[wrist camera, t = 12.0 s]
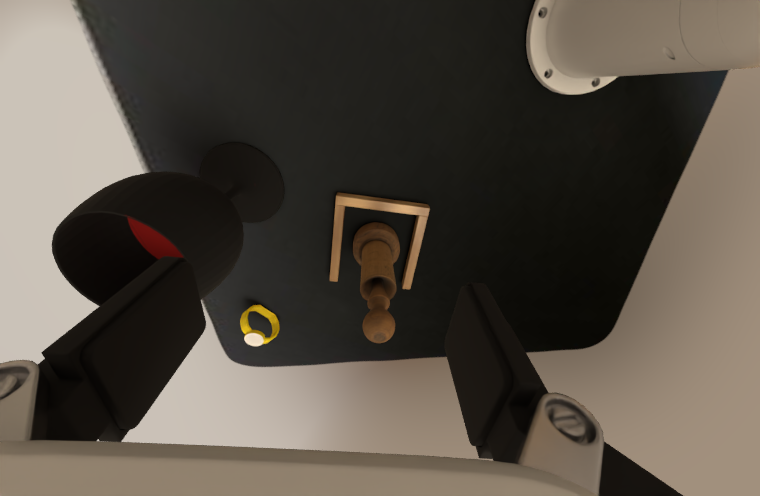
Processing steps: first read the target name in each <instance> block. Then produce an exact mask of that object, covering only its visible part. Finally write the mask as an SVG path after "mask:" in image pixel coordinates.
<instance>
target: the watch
mask: <svg viewBox="0 0 760 496" xmlns="http://www.w3.org/2000/svg"><path fill="white" fill-rule="evenodd" d="M249 311H257V312H258V313H260V314H262V315H263V316H265V317H267V318H268V319H269V321H270V322H271V324H272V331H273V332H272V335H271V337H270V338H265V335H264V334H263V333H262V332H261V331H258V330H252V329H251V327H250V326H249V323H248V318H247V317H248V314H249ZM240 324H241V329H242V331H243V333H244V334H245V337H244V339H245V342H246V343H247V344H249V345H251V346H260V345H262V344H266V343H268V342H269V341H271V340H272V339H273V338H275V337H276V336H277V334H278V332H279V321H278V319H277V317H276V315H275V314H274V313H272V312H270V311H269V310H267V309H266V308H264V307H263V306H262V305H253V306H251V307H250V308H249V309H247V310H246V311H245V312H244V313H243V314H242V316H241V319H240Z"/></svg>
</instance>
